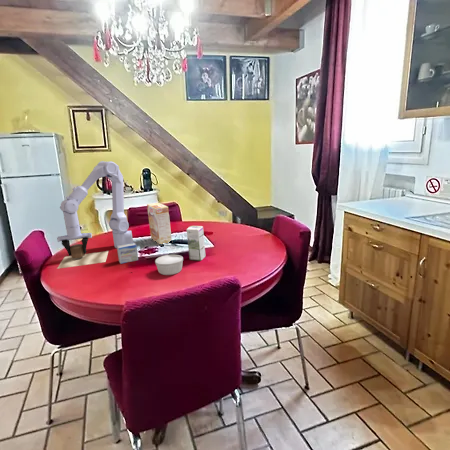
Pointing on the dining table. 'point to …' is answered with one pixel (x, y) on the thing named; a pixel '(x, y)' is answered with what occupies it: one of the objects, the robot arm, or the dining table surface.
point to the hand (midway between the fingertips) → (77, 254)
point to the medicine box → (127, 253)
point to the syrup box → (196, 242)
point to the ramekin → (169, 264)
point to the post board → (84, 260)
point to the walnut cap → (77, 251)
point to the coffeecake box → (159, 223)
